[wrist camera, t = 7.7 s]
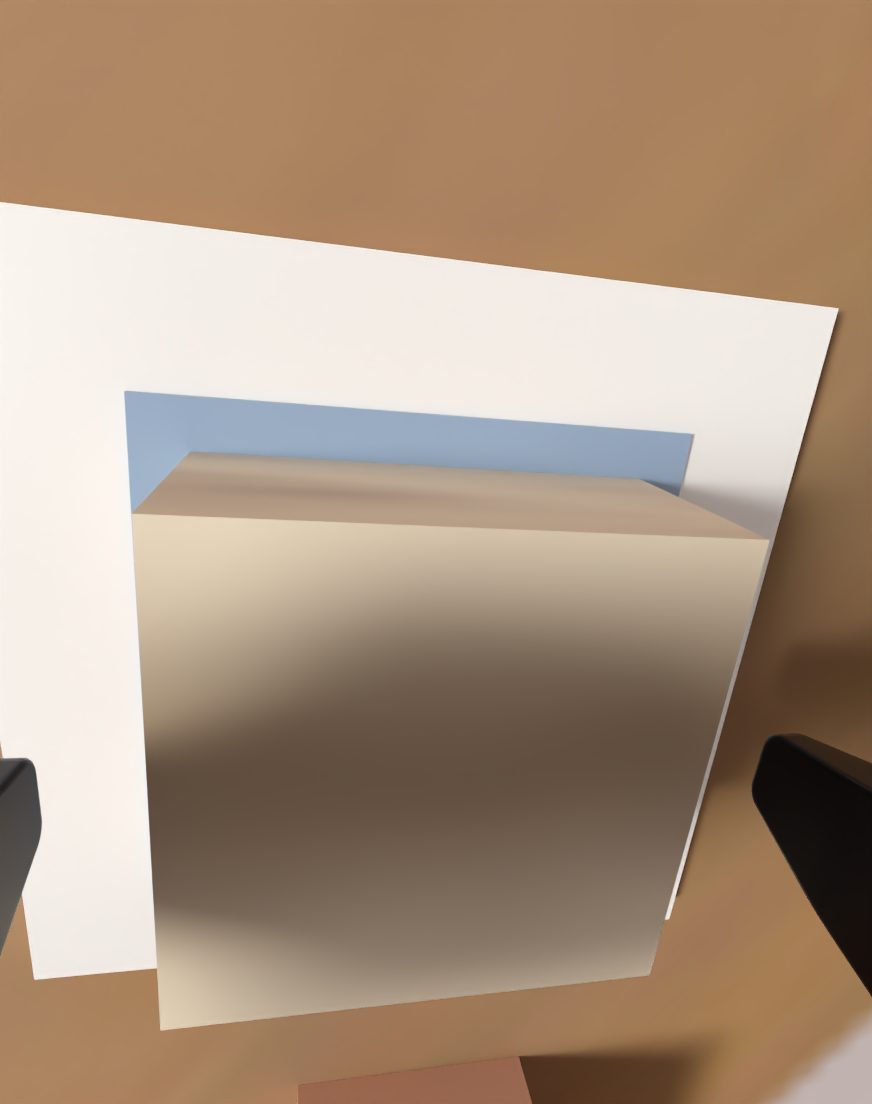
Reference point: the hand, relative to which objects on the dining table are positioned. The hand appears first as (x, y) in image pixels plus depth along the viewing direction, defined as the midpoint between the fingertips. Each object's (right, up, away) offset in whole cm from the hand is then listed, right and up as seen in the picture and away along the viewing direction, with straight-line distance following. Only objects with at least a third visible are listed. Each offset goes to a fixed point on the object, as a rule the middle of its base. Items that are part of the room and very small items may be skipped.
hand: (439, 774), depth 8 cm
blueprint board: (-1, +1, +3) cm, 3 cm away
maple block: (0, +1, +2) cm, 2 cm away
